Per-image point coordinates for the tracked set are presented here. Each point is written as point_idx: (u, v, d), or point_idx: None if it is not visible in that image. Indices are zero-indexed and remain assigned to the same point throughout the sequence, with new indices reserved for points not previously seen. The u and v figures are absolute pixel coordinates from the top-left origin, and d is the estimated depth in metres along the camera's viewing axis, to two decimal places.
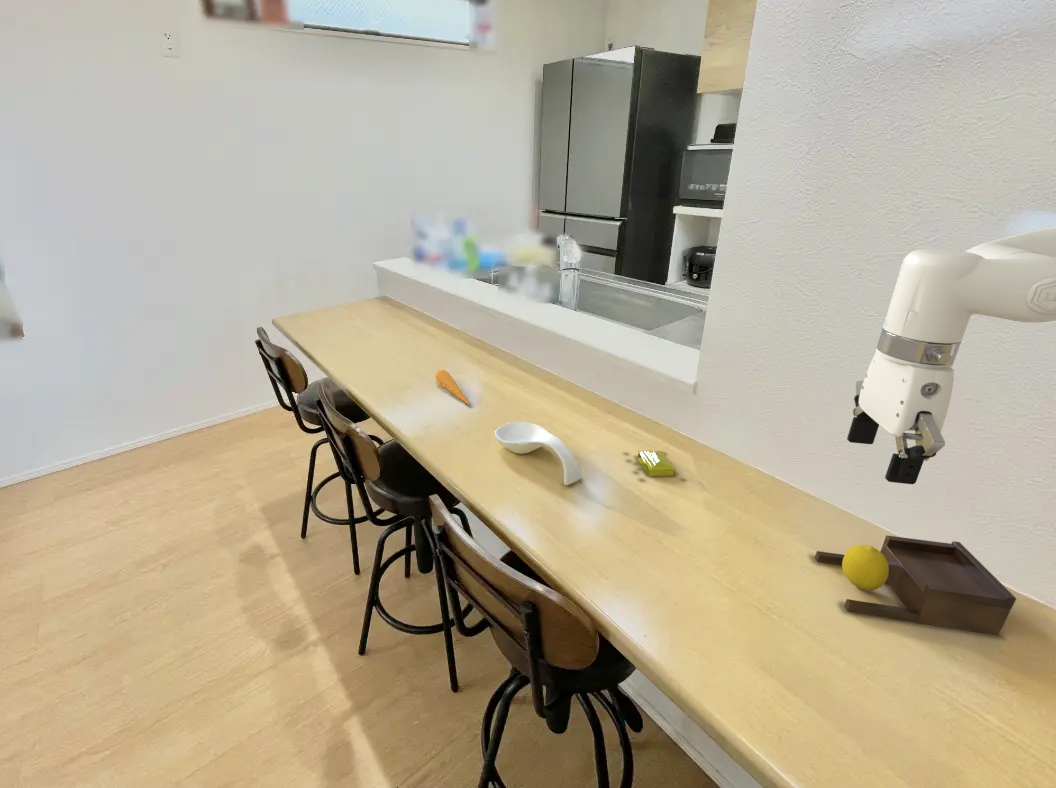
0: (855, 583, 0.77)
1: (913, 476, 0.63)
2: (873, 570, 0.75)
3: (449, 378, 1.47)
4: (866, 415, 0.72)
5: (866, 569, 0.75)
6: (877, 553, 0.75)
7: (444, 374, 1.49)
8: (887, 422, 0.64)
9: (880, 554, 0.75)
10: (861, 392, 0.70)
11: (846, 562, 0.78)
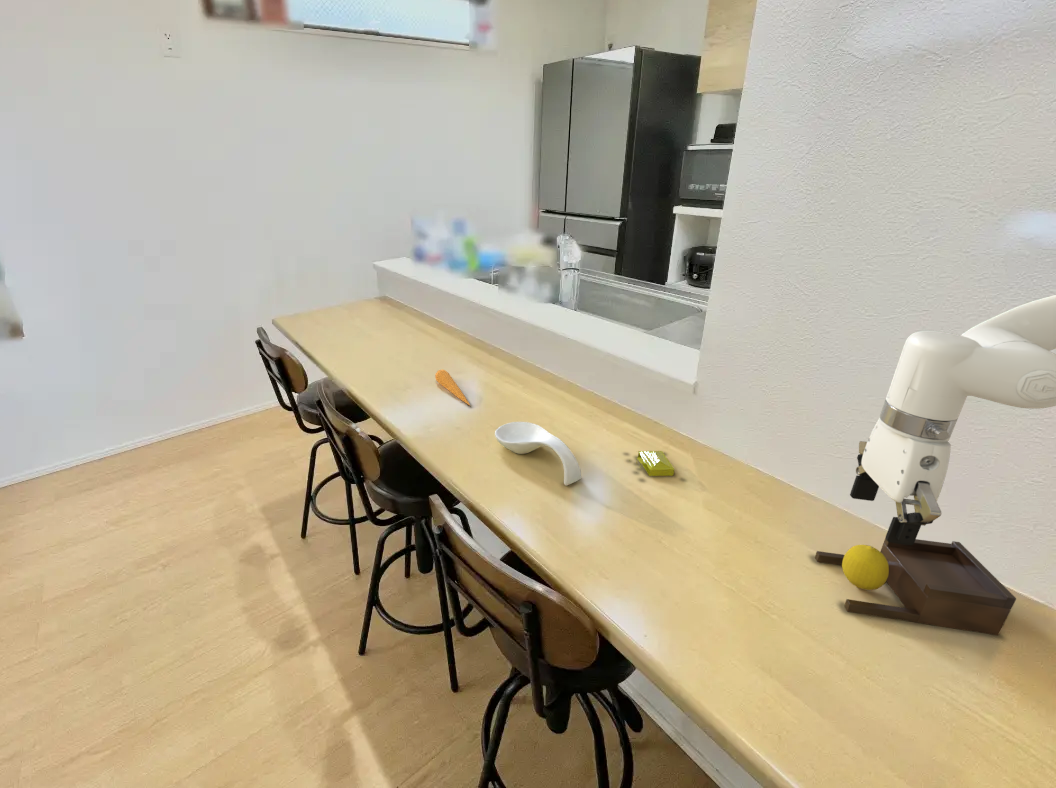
0: (855, 583, 0.77)
1: (911, 539, 0.68)
2: (873, 569, 0.75)
3: (449, 378, 1.47)
4: (868, 474, 0.77)
5: (866, 569, 0.75)
6: (877, 553, 0.75)
7: (444, 374, 1.49)
8: (888, 487, 0.70)
9: (880, 554, 0.75)
10: (864, 454, 0.76)
11: (846, 562, 0.78)
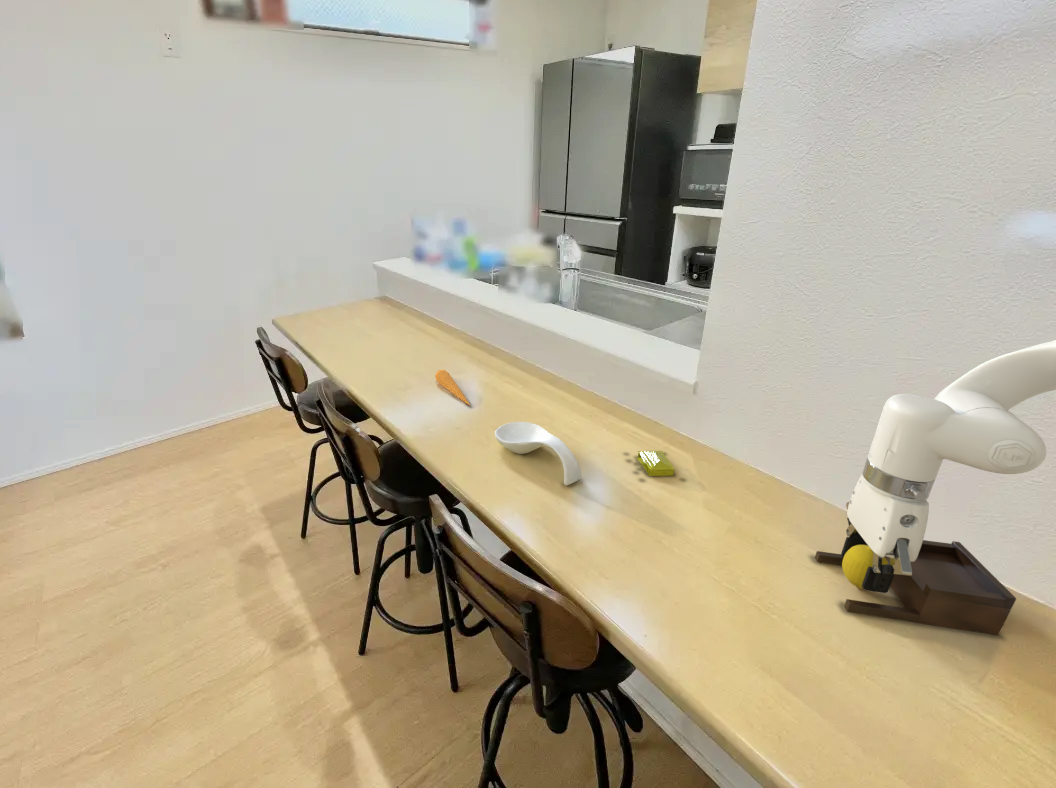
0: (855, 583, 0.77)
1: (885, 587, 0.73)
2: None
3: (449, 378, 1.47)
4: (858, 536, 0.79)
5: (866, 569, 0.75)
6: None
7: (443, 374, 1.49)
8: (871, 541, 0.73)
9: None
10: (849, 506, 0.79)
11: (846, 562, 0.78)
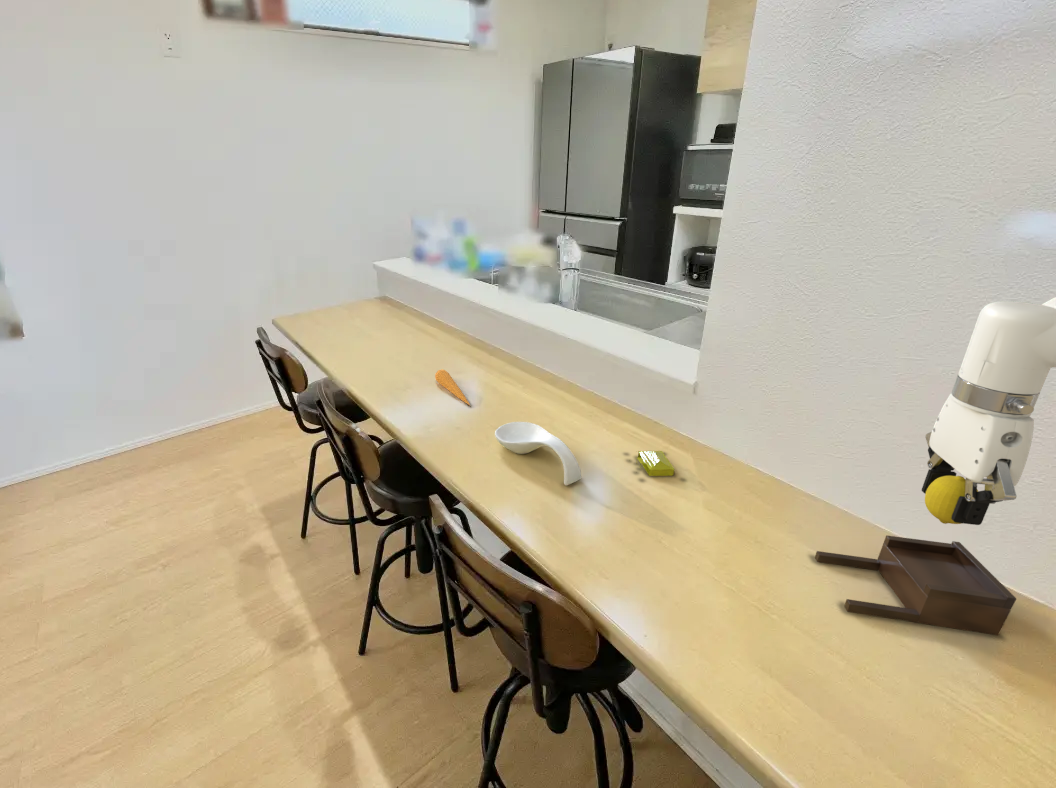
0: (942, 517, 0.70)
1: (980, 518, 0.67)
2: None
3: (449, 378, 1.47)
4: (942, 468, 0.73)
5: (956, 499, 0.69)
6: None
7: (443, 374, 1.49)
8: (964, 467, 0.66)
9: None
10: (932, 434, 0.72)
11: (931, 495, 0.71)
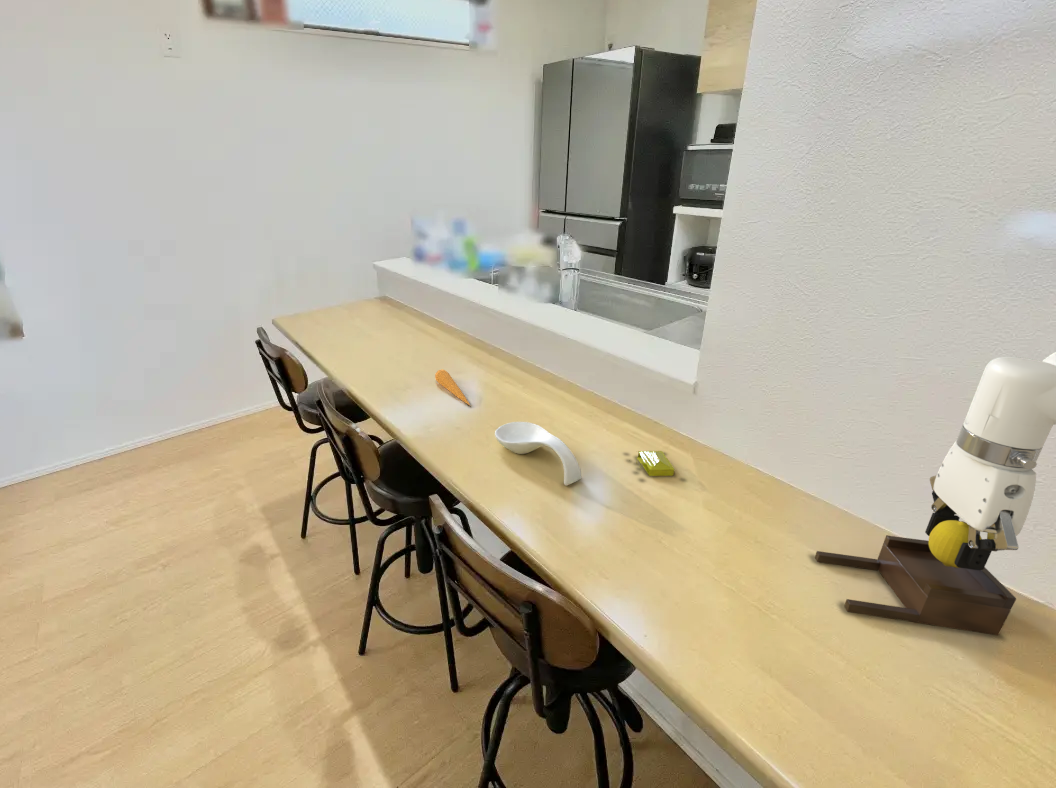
0: (945, 560, 0.72)
1: (982, 564, 0.69)
2: None
3: (449, 378, 1.47)
4: (946, 512, 0.75)
5: (959, 545, 0.71)
6: None
7: (443, 374, 1.49)
8: (968, 515, 0.68)
9: None
10: (937, 479, 0.74)
11: (935, 539, 0.73)
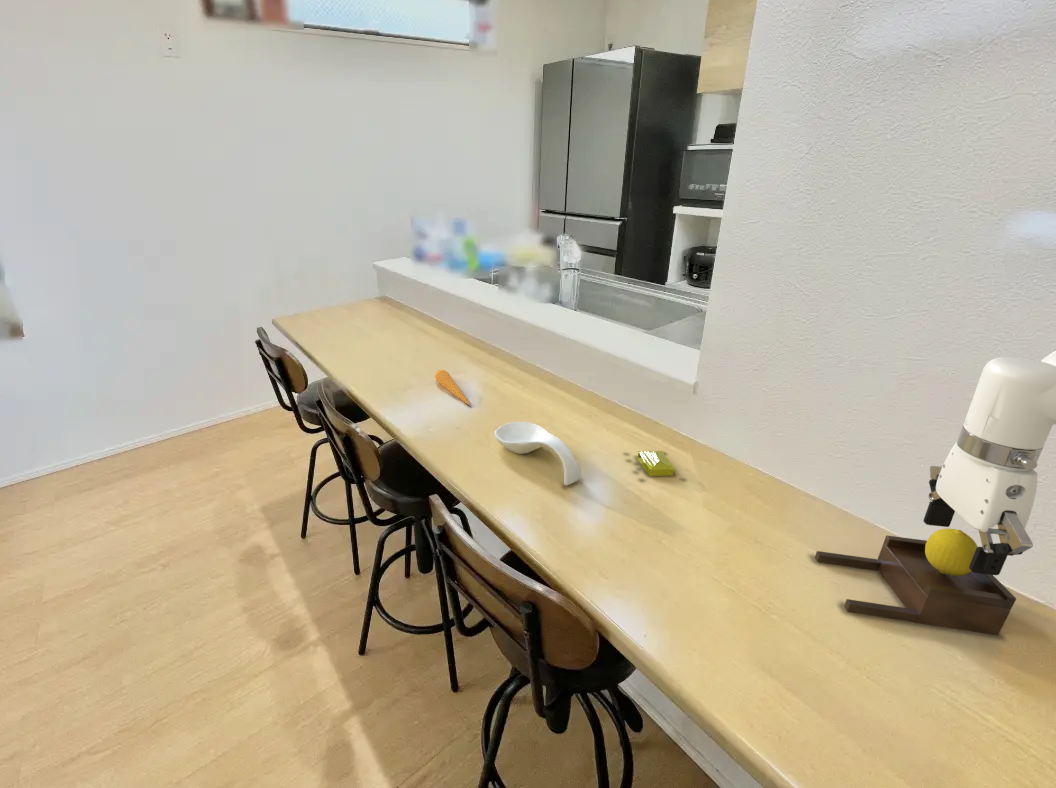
0: (941, 569, 0.73)
1: (998, 569, 0.67)
2: (964, 554, 0.71)
3: (449, 378, 1.47)
4: (943, 500, 0.76)
5: (955, 553, 0.71)
6: (966, 537, 0.72)
7: (443, 374, 1.49)
8: (970, 516, 0.68)
9: (969, 538, 0.72)
10: (939, 480, 0.74)
11: (931, 547, 0.74)
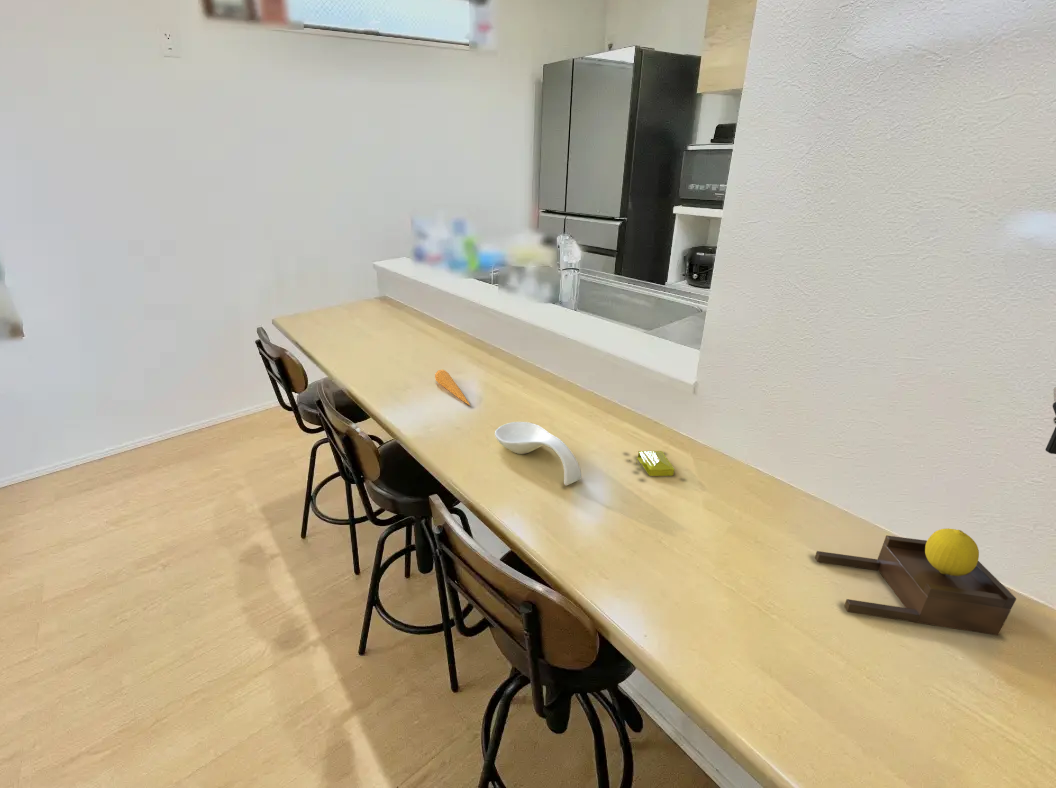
0: (941, 569, 0.73)
1: None
2: (964, 554, 0.71)
3: (449, 378, 1.47)
4: None
5: (956, 553, 0.71)
6: (966, 537, 0.72)
7: (443, 374, 1.49)
8: None
9: (969, 538, 0.72)
10: None
11: (931, 547, 0.74)
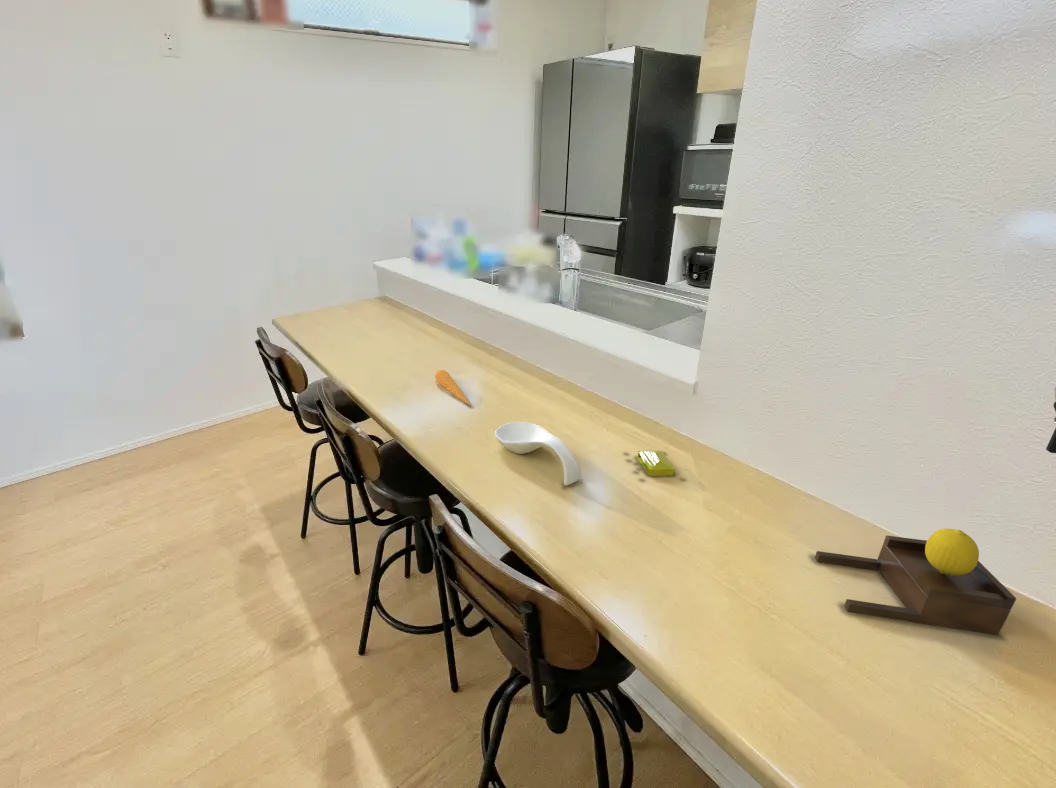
0: (941, 569, 0.73)
1: None
2: (964, 554, 0.71)
3: (449, 378, 1.47)
4: None
5: (955, 553, 0.71)
6: (966, 537, 0.72)
7: (443, 374, 1.49)
8: None
9: (969, 538, 0.72)
10: None
11: (931, 547, 0.74)
